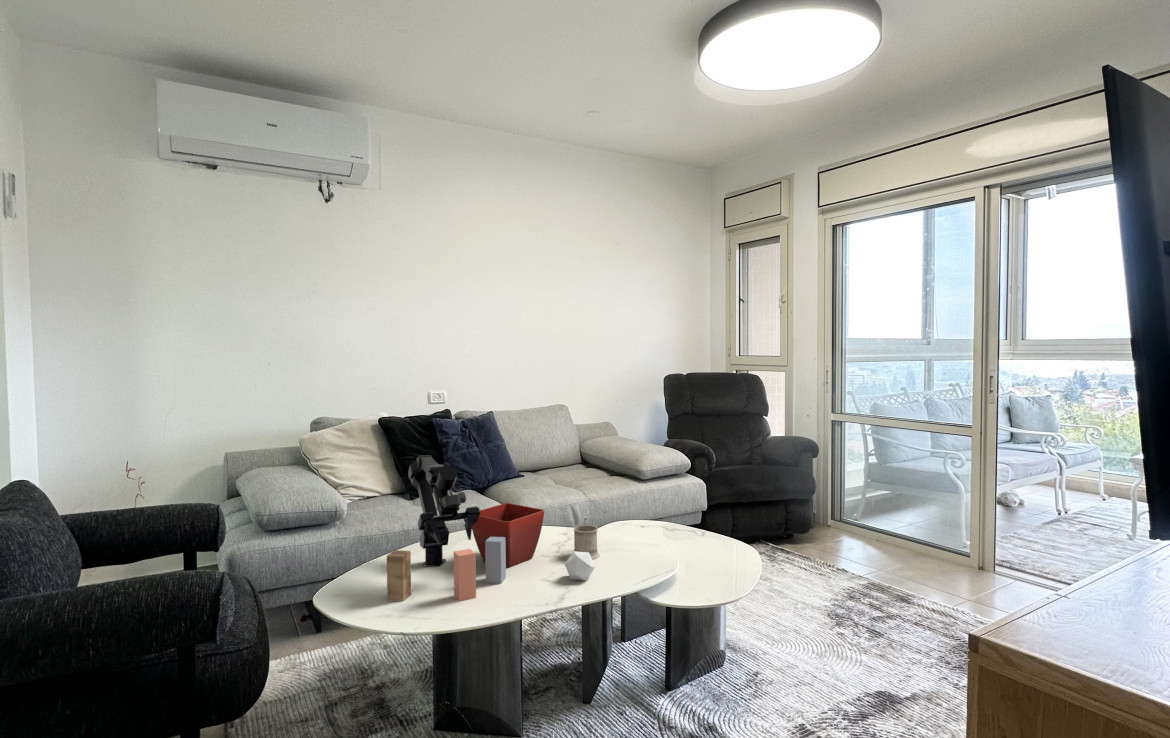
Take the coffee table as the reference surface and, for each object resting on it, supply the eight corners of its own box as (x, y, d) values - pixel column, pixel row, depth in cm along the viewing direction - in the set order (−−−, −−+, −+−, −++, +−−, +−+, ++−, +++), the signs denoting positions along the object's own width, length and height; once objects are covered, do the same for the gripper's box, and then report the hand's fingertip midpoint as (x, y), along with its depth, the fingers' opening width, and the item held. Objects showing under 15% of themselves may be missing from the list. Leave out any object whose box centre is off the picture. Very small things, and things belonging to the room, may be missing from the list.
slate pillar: (490, 577, 193) (490, 536, 192) (505, 578, 192) (505, 537, 192) (485, 582, 188) (485, 541, 188) (501, 583, 187) (500, 541, 187)
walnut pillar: (395, 593, 179) (394, 550, 179) (411, 594, 179) (410, 550, 179) (387, 600, 175) (386, 555, 174) (403, 601, 174) (402, 556, 174)
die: (598, 577, 193) (584, 548, 198) (599, 572, 185) (585, 542, 190) (574, 589, 191) (561, 560, 196) (574, 584, 184) (560, 554, 188)
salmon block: (454, 595, 178) (453, 551, 178) (470, 592, 180) (470, 548, 180) (459, 601, 173) (458, 556, 173) (476, 597, 176) (475, 553, 176)
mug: (599, 560, 208) (599, 525, 208) (571, 560, 208) (571, 525, 208) (599, 547, 223) (599, 514, 223) (573, 547, 223) (572, 515, 223)
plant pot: (508, 573, 196) (507, 521, 196) (468, 562, 208) (467, 513, 208) (546, 557, 212) (545, 509, 211) (507, 548, 223) (506, 502, 223)
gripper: (419, 487, 184) (429, 531, 175) (478, 481, 193) (490, 522, 184) (413, 508, 191) (423, 552, 181) (470, 501, 200) (482, 542, 190)
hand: (455, 541), depth 184 cm, fingers open, 9 cm apart
